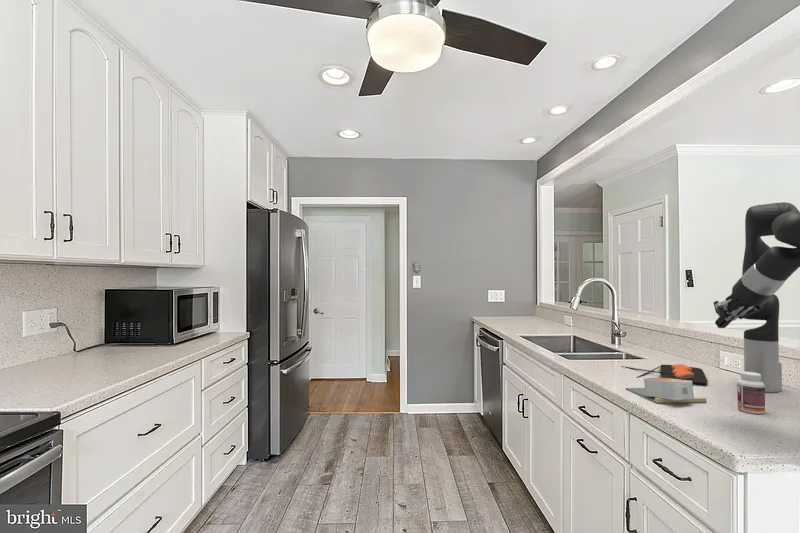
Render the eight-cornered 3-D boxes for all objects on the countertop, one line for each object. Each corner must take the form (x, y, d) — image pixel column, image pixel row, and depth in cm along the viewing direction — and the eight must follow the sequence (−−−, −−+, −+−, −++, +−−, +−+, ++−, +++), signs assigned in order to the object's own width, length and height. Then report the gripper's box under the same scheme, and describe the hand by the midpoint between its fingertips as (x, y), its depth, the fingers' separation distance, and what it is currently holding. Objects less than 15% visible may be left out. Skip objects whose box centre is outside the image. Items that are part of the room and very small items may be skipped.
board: (669, 388, 145) (669, 384, 145) (706, 402, 129) (706, 398, 129) (625, 389, 144) (625, 385, 144) (657, 403, 128) (657, 399, 128)
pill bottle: (771, 413, 119) (770, 375, 119) (754, 415, 117) (753, 376, 118) (748, 407, 125) (748, 370, 125) (732, 408, 124) (731, 371, 124)
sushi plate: (709, 388, 147) (709, 377, 147) (614, 377, 163) (614, 367, 163) (701, 372, 172) (701, 363, 172) (620, 364, 188) (620, 355, 188)
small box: (675, 381, 124) (643, 378, 134) (677, 400, 124) (644, 396, 133) (692, 380, 127) (660, 377, 137) (694, 399, 126) (662, 394, 136)
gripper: (773, 273, 108) (733, 315, 120) (725, 273, 107) (689, 315, 119) (794, 294, 103) (749, 336, 115) (743, 294, 102) (704, 336, 114)
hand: (719, 325), depth 117 cm, fingers closed
